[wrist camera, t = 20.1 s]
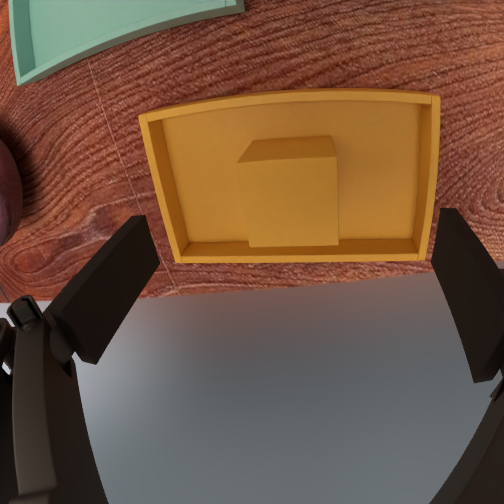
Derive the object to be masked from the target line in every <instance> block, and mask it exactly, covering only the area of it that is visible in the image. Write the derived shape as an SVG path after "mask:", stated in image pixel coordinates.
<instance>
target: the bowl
mask: <svg viewBox="0 0 504 504" xmlns="http://www.w3.org/2000/svg"><path fill="white" fill-rule="evenodd" d="M22 208H23V190H22V183H21V178H20V174H19V171H18V168H17V165H16V162H15V160H14V158H13V156H12V154H11V152H10V150H9V149H8V147H7V146H6V145H5V144H4V143H3V142H2V141H1V140H0V247H1V246H2V245H5V244H6V243H7V242H8V241H9V240H10V239H11V238H12V237H13V235H14V233H15V231H16V230H17V228H18V226H19V223H20V220H21V215H22Z"/></svg>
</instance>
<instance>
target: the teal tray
mask: <svg viewBox="0 0 504 504" xmlns="http://www.w3.org/2000/svg"><path fill="white" fill-rule="evenodd" d="M242 12H245V5H244V0H9V21H10V34H11V44H12V53H13V61H14V68H15V75H16V81H17V86H21V85H24V84H28V83H32V82H36V81H39V80H41V79H43V78H45V77H47V76H49V75H50V74H52V73H54V72H56V71H58V70H60V69H62V68H64V67H67V66H69V65H71V64H73V63H75V62H77V61H79V60H82V59H84V58H86V57H88V56H91V55H93V54H96V53H98V52H100V51H103V50H105V49H108V48H111V47H113V46H116V45H118V44H121V43H124V42H127V41H130V40H132V39H135V38H138V37H141V36H145V35H148V34H151V33H154V32H157V31H161V30H164V29H168V28H172V27H175V26H179V25H183V24H187V23H191V22H195V21H200V20H204V19H209V18H214V17H219V16H224V15H230V14H236V13H242Z"/></svg>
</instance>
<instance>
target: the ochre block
mask: <svg viewBox="0 0 504 504" xmlns="http://www.w3.org/2000/svg"><path fill="white" fill-rule="evenodd" d="M236 166H237V173H238V179H239V185H240V191H241V197H242V203H243V209H244V216H245V222H246V228H247V234H248V240H249V246H250V247H288V246H330V245H339V192H338V162H337V155H336V152H335V148H334V145H333V141H332V138H331V136H309V137H291V138H276V139H263V140H253V141H252V142H251V144H250V145H249V146H248V148H247V149H246V150H245V152H244V153H243V154H242V156H241V157H240V158H239V160H238V161H237V162H236Z"/></svg>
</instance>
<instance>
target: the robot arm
mask: <svg viewBox="0 0 504 504" xmlns="http://www.w3.org/2000/svg"><path fill="white" fill-rule="evenodd" d="M431 264H432V266H433V269H434V271H435V273H436V276H437V278H438V280H439V283H440V285H441V287H442V290H443V292H444V295H445V297H446V300H447V302H448V305H449V308H450V310H451V313H452V316H453V318H454V321H455V324H456V327H457V330H458V333H459V335H460V338H461V341H462V345H463V348H464V351H465V353H466V357H467V360H468V364H469V367H470V371H471V374H472V378H473V381H474V383H478V382H484V381H490V380H493V378H494V377H495V375H496V374H497V372H498V371H499V369H500V370H501V373H502V376H503V378H502V380H501V381H500V383H499V384H498V386H497V387H496V388H495V390H494V391H493V392H492V394H491V395H490V397H491V398H492V397H493V398H492V400H491V402H490V405H489V407H488V409H487V411H486V413H485V415H484V417H483V419H482V421H481V423H480V425H479V427H478V429H477V430H476V432H475V434H474V436H473V438H472V440H471V441H470V443H469V445H468V446H467V448H466V450H465V452H464V453H463V455H462V457H461V458H460V460H459V462H458V463H457V465H456V466H455V468H454V469H453V471H452V472H451V474H450V475H449V477H448V478H447V480H446V481H445V483H444V484H443V486H442V487H441V489H440V490H439V491H438V493H437V494H436V495H435V497H434V498H433V499H432V501H431V502H430V503H429V504H504V269H499V268H498V267H497V265H496V264H495V262H494V261H493V259H492V258H491V256H490V255H489V253H488V252H487V250H486V249H485V247H484V246H483V244H482V243H481V241H480V240H479V239H478V237H477V236H476V234H475V233H474V232H473V230H472V229H471V228H470V226H469V225H468V223H467V222H466V221H465V220H464V218H463V217H462V216H461V214H460V213H459V212H458V210H457V209H456V208H440V215H439V221H438V227H437V233H436V239H435V244H434V249H433V254H432V259H431ZM159 265H160V261H159V258H158V255H157V252H156V249H155V246H154V242H153V239H152V236H151V233H150V230H149V226H148V223H147V220H146V216H145V215H138V216H131V217H130V218H129V219H128V220H127V221H126V222H125V223H124V224H123V225H122V226H121V227H120V228H119V229H118V231H117V232H116V233H115V234H114V235H113V236H112V237H111V238H110V239H109V240H108V241H107V242H106V243H105V244H104V245H103V246H102V247H101V248H100V249H99V250H98V252H97V253H96V254H95V255H94V256H93V257H92V258H91V259H90V260H89V261H88V262H87V264H86V265H85V266H84V267H83V268H82V269H81V270H80V271H79V273H77V274H76V275H75V276H73V277H72V279H71V280H70V281H69V282H68V283H67V284H66V285H67V286H65V287H64V288H63V289H62V290H61V292H60V293H59V294H58V295H57V296H56V297H55V299H54V300H53V301H52V302H51V303H50V305H49V306H48V307H47V308H46V310H45V311H44V312H43V313H42V312H41V310H40V308H39V307H38V305H37V303H36V302H35V300H34V298H33V297H32V296H31V295H25V296H22V297H20V298H18V299H16V300H15V301H14V302H13V303H12V304H11V305H10V306H9V308H8V310H7V314H8V316H9V317H10V319H11V320H12V322H13V324H14V325H15V327H11V325H10V324H9V322H8V321H7V319H5V318H0V504H109V503H108V501H107V498H106V495H105V492H104V489H103V486H102V483H101V480H100V476H99V473H98V470H97V467H96V463H95V459H94V456H93V452H92V448H91V445H90V440H89V437H88V432H87V427H86V423H85V418H84V413H83V408H82V403H81V398H80V392H79V386H78V380H77V373H76V366H75V362H74V360H73V358H72V357H71V356H72V355H73V353H74V352H76V353H77V355H78V356H79V357H80V359H81V360H82V361H83V362H87V363H91V364H95V365H96V364H97V363H98V361H99V359H100V358H101V356H102V354H103V353H104V351H105V349H106V347H107V346H108V344H109V343H110V341H111V339H112V338H113V336H114V334H115V333H116V331H117V329H118V328H119V326H120V325H121V323H122V321H123V320H124V318H125V317H126V315H127V313H128V312H129V310H130V309H131V307H132V306H133V304H134V302H135V301H136V299H137V298H138V296H139V295H140V293H141V292H142V290H143V289H144V287H145V286H146V284H147V283H148V281H149V280H150V278H151V277H152V275H153V274H154V272H155V271H156V269H157V268H158V266H159ZM3 362H4V363H5V364H6V365H7V366H8V367H9V369H11V372H10V374H9V375H8V374H7V373H6V372H5V371H4V369H3V368H2V365H3Z"/></svg>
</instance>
